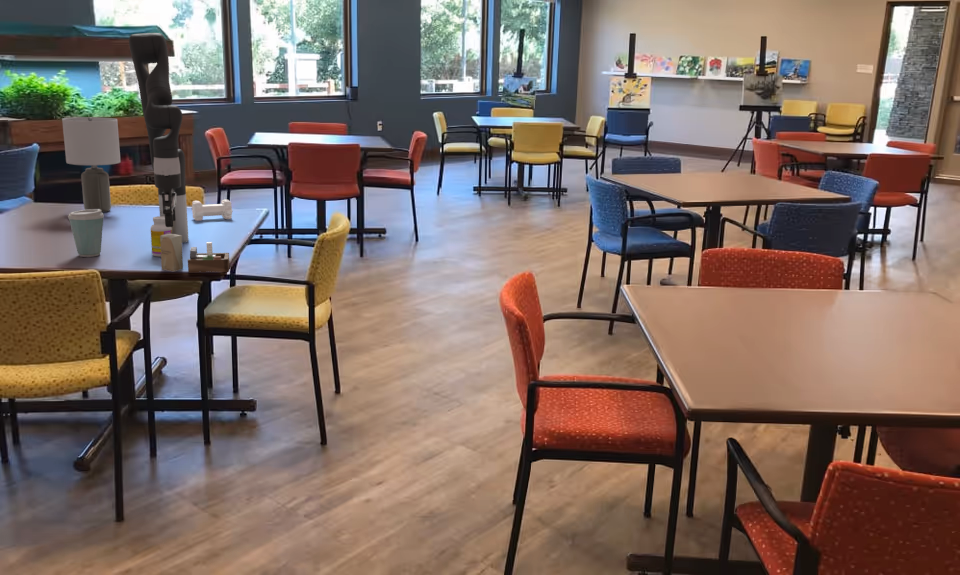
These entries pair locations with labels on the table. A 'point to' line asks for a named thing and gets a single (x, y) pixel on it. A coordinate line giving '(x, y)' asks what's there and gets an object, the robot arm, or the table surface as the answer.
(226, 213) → the dog bone
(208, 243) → the grey blocky piece
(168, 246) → the box
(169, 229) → the supplement bottle
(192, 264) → the brown wooden open box
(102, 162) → the lamp
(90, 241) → the disposable coffee cup
